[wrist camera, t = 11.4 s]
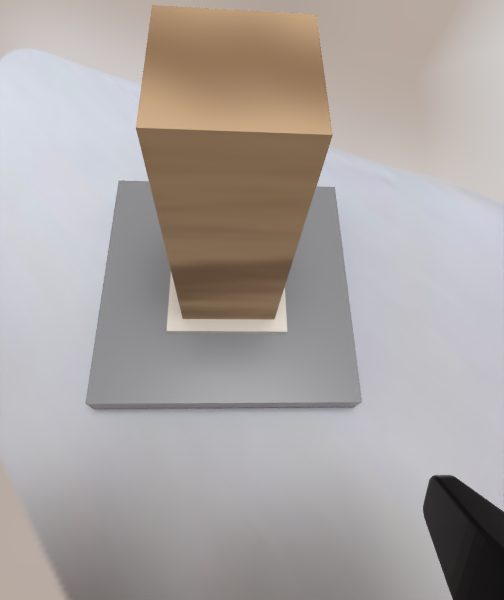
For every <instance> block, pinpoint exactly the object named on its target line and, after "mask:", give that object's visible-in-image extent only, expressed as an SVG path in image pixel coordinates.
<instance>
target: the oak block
mask: <svg viewBox="0 0 504 600" xmlns="http://www.w3.org/2000/svg"><path fill="white" fill-rule="evenodd" d="M136 130H137V134H138V138H139V142H140V146H141V150H142V154H143V158H144V162H145V167H146V171H147V175H148V179H149V183H150V187H151V191H152V195H153V199H154V203H155V207H156V212H157V216H158V220H159V224H160V228H161V232H162V236H163V240H164V244H165V248H166V252H167V257H168V261H169V265H170V269H171V273H172V277H173V281H174V285H175V289H176V293H177V298H178V302H179V306H180V310H181V314H182V318H183V319H275V316H276V313H277V310H278V307H279V303H280V300H281V297H282V294H283V291H284V288H285V284H286V281H287V278H288V275H289V272H290V268H291V265H292V262H293V259H294V256H295V253H296V249H297V246H298V243H299V240H300V237H301V234H302V230H303V227H304V224H305V221H306V218H307V214H308V211H309V208H310V205H311V202H312V199H313V195H314V192H315V189H316V186H317V183H318V180H319V176H320V173H321V170H322V167H323V164H324V160H325V157H326V154H327V151H328V148H329V145H330V141H331V138H332V128H331V120H330V113H329V106H328V98H327V92H326V83H325V76H324V69H323V62H322V55H321V47H320V39H319V32H318V26H317V18H316V15H314V14H297V13H278V12H261V11H244V10H227V9H226V10H225V9H209V8H191V7H174V6H156V5H152V10H151V18H150V25H149V33H148V41H147V48H146V57H145V64H144V71H143V78H142V86H141V94H140V101H139V109H138V116H137V124H136Z"/></svg>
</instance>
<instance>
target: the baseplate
mask: <svg viewBox="0 0 504 600" xmlns="http://www.w3.org/2000/svg"><path fill="white" fill-rule="evenodd" d="M361 402H362V399H361V391H360V383H359V375H358V367H357V359H356V351H355V343H354V335H353V328H352V320H351V312H350V304H349V296H348V288H347V280H346V272H345V265H344V257H343V249H342V241H341V233H340V225H339V217H338V209H337V201H336V194H335V187H316V189H315V192H314V195H313V199H312V202H311V205H310V208H309V211H308V214H307V218H306V221H305V224H304V227H303V230H302V234H301V237H300V240H299V243H298V246H297V249H296V253H295V256H294V259H293V262H292V265H291V268H290V272H289V275H288V278H287V281H286V284H285V288H284V291H283V294H282V297H281V300H280V303H279V307H278V310H277V313H276V316H275V319H183V318H182V314H181V310H180V306H179V302H178V298H177V293H176V289H175V285H174V281H173V277H172V273H171V269H170V265H169V261H168V257H167V252H166V248H165V244H164V240H163V236H162V232H161V228H160V224H159V220H158V216H157V212H156V207H155V203H154V199H153V195H152V191H151V187H150V183H149V182H146V181H119V183H118V189H117V196H116V203H115V209H114V216H113V223H112V230H111V236H110V243H109V250H108V256H107V263H106V270H105V277H104V283H103V290H102V297H101V303H100V310H99V317H98V324H97V330H96V337H95V344H94V350H93V357H92V364H91V370H90V377H89V384H88V391H87V397H86V404H87V405H89V406H90V407H92V408H94V409H135V408H287V407H354V406H356V405H358V404H360V403H361Z"/></svg>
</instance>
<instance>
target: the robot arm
mask: <svg viewBox="0 0 504 600" xmlns="http://www.w3.org/2000/svg"><path fill="white" fill-rule="evenodd" d="M423 513H424V518H425V521H426V524H427V527H428V530H429V533H430V535H431V538H432V541H433V544H434V547H435V550H436V553H437V556H438V559H439V561H440V564H441V567H442V570H443V573H444V576H445V579H446V582H447V585H448V587H449V590H450V593H451V595H452V598H453V600H504V512H503V511H502V510H501V509H499V508H498V507H496V506H495V505H494V504H492V503H491V502H489V501H488V500H487V499H485V498H484V497H482V496H481V495H480V494H478V493H477V492H475V491H474V490H473V489H471V488H470V487H468V486H467V485H466V484H464V483H463V482H461V481H460V480H459V479H457V478H456V477H454V476H451V475H435V476H432V477H431V478H430V480H429V484H428V488H427V492H426V496H425V500H424V505H423Z"/></svg>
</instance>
